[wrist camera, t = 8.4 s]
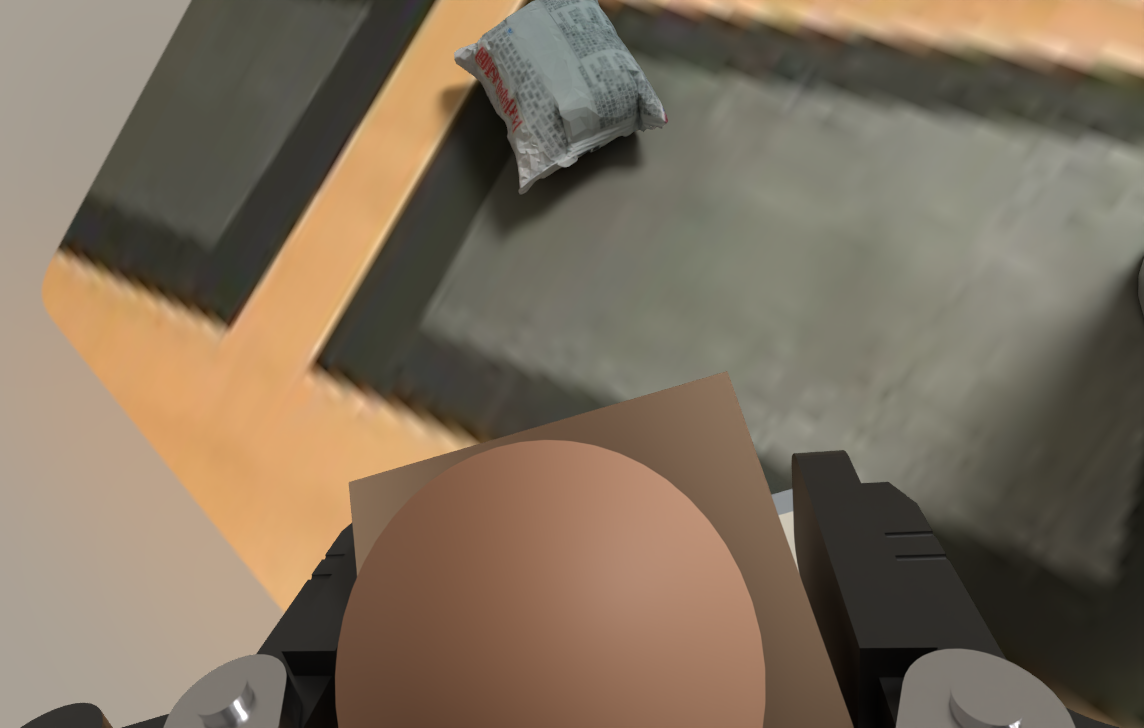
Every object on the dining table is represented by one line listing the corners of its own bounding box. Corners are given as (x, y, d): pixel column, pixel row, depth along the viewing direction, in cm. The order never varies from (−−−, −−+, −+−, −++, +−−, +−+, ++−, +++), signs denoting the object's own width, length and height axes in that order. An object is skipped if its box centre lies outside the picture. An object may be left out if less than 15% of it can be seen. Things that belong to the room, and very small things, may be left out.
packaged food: (531, 219, 35) (504, 162, 30) (464, 77, 39) (432, 10, 35) (675, 149, 34) (670, 81, 30) (590, 14, 39) (574, -62, 34)
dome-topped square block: (729, 470, 14) (743, 289, 6) (815, 725, 12) (1023, 1014, 4) (514, 529, 15) (244, 443, 6) (562, 782, 13) (263, 1137, 4)
